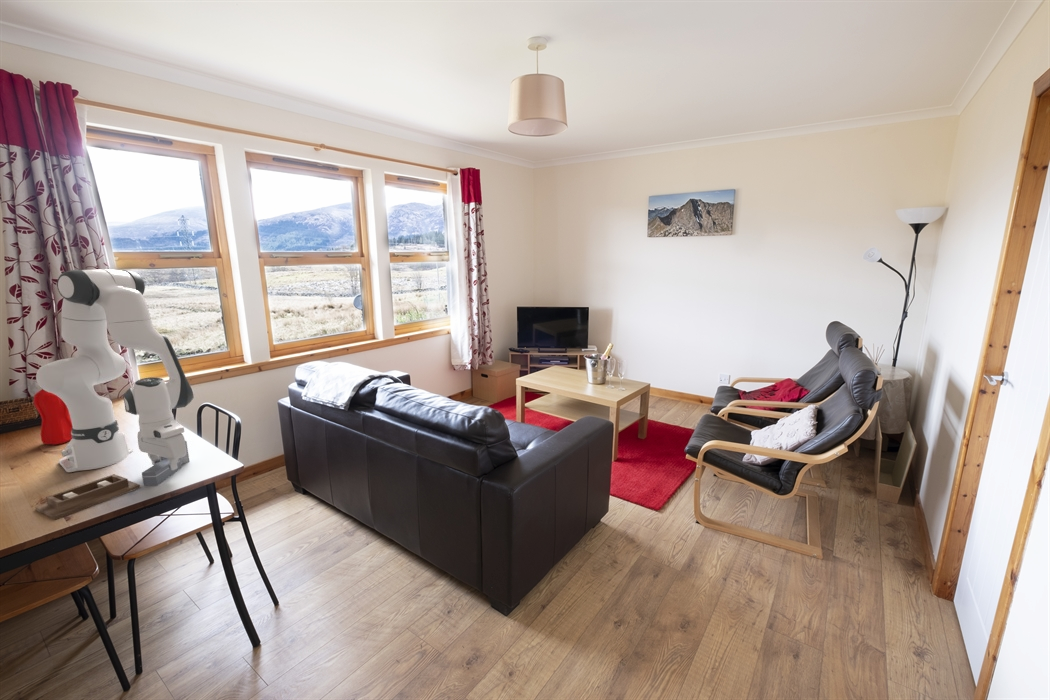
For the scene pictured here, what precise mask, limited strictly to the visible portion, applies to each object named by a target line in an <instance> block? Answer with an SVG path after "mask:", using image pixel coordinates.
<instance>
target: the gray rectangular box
mask: <svg viewBox="0 0 1050 700" xmlns="http://www.w3.org/2000/svg"><path fill="white" fill-rule="evenodd" d="M168 465H170V461H169V458H165V459H163V460H162V461H160V462H158V463H157V464H155V465H152V466H150V467H149V468H147V469H146V470H143V472H141V478H142V482H143V487H144V488H146V487H158V486H160V485H161V484H162V483H163V482H164V481H166V480H167V479H169V478H170V477H171V476H173V475H174V474H175V473H176V472H178V471H179V470H181V469H182V464H181V460H180V458H179V459H178V463H177V466H178V468H177V469H175V470H170V469H169V466H168Z"/></svg>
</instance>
